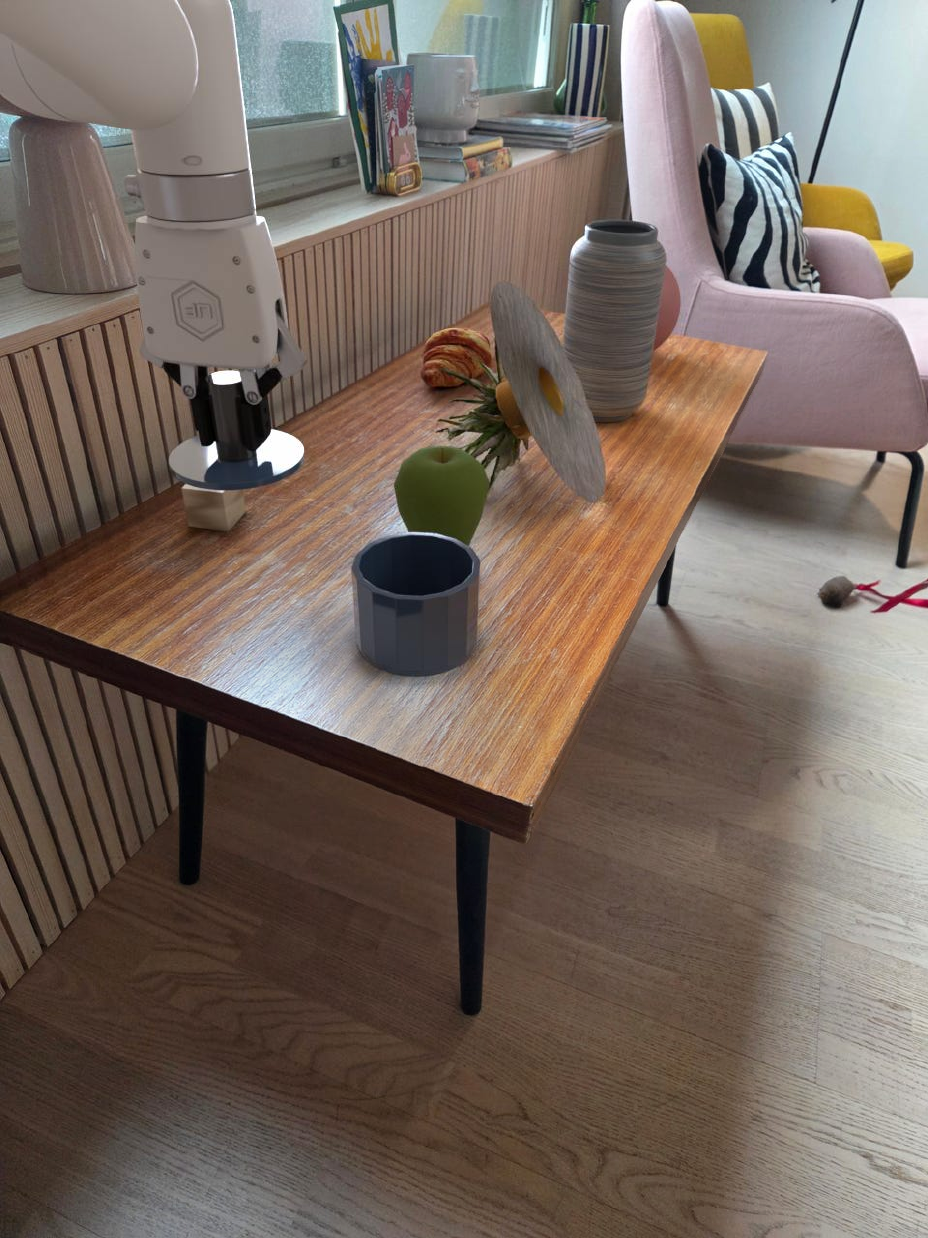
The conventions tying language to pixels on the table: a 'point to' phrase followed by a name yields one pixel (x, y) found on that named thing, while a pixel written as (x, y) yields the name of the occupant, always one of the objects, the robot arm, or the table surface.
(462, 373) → the croissant
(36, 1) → the robot arm
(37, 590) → the table surface
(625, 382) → the vase
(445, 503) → the apple
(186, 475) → the lid
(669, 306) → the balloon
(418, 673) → the pot
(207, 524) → the block
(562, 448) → the grey leafy disc
